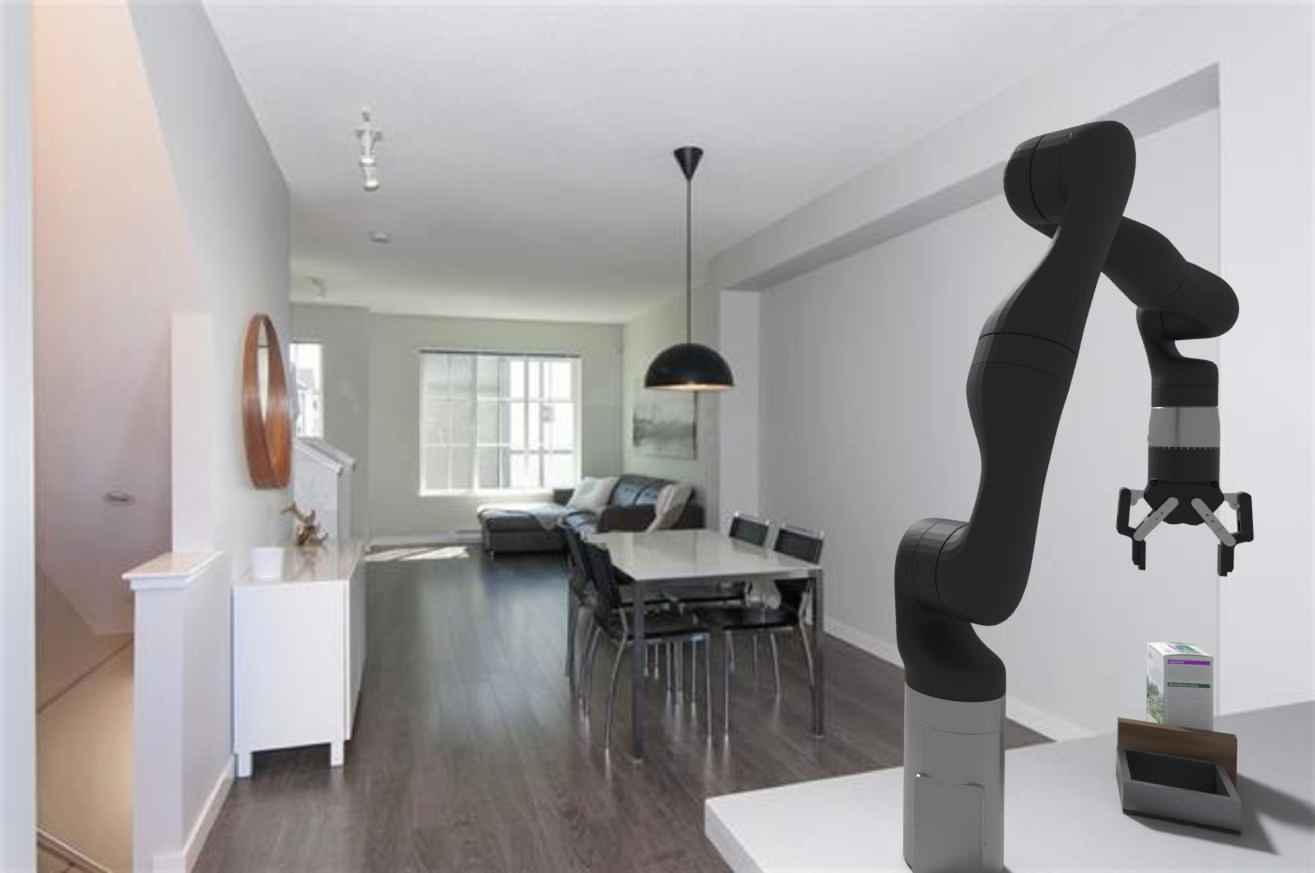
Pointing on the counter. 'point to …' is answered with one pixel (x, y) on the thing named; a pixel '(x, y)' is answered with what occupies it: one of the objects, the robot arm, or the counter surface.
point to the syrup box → (1179, 685)
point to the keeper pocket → (1177, 790)
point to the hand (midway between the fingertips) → (1181, 572)
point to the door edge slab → (1180, 742)
